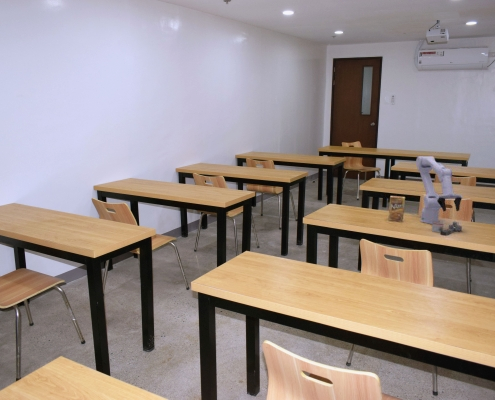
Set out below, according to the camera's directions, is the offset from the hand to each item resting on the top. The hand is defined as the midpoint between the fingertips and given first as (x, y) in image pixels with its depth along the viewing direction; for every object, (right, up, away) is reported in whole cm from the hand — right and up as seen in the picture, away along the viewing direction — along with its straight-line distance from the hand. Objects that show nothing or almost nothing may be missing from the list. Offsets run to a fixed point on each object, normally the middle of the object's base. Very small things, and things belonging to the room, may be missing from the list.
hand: (451, 210), depth 248 cm
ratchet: (+1, -12, +3) cm, 13 cm away
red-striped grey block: (-6, -12, +4) cm, 14 cm away
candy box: (-23, -7, +27) cm, 36 cm away
